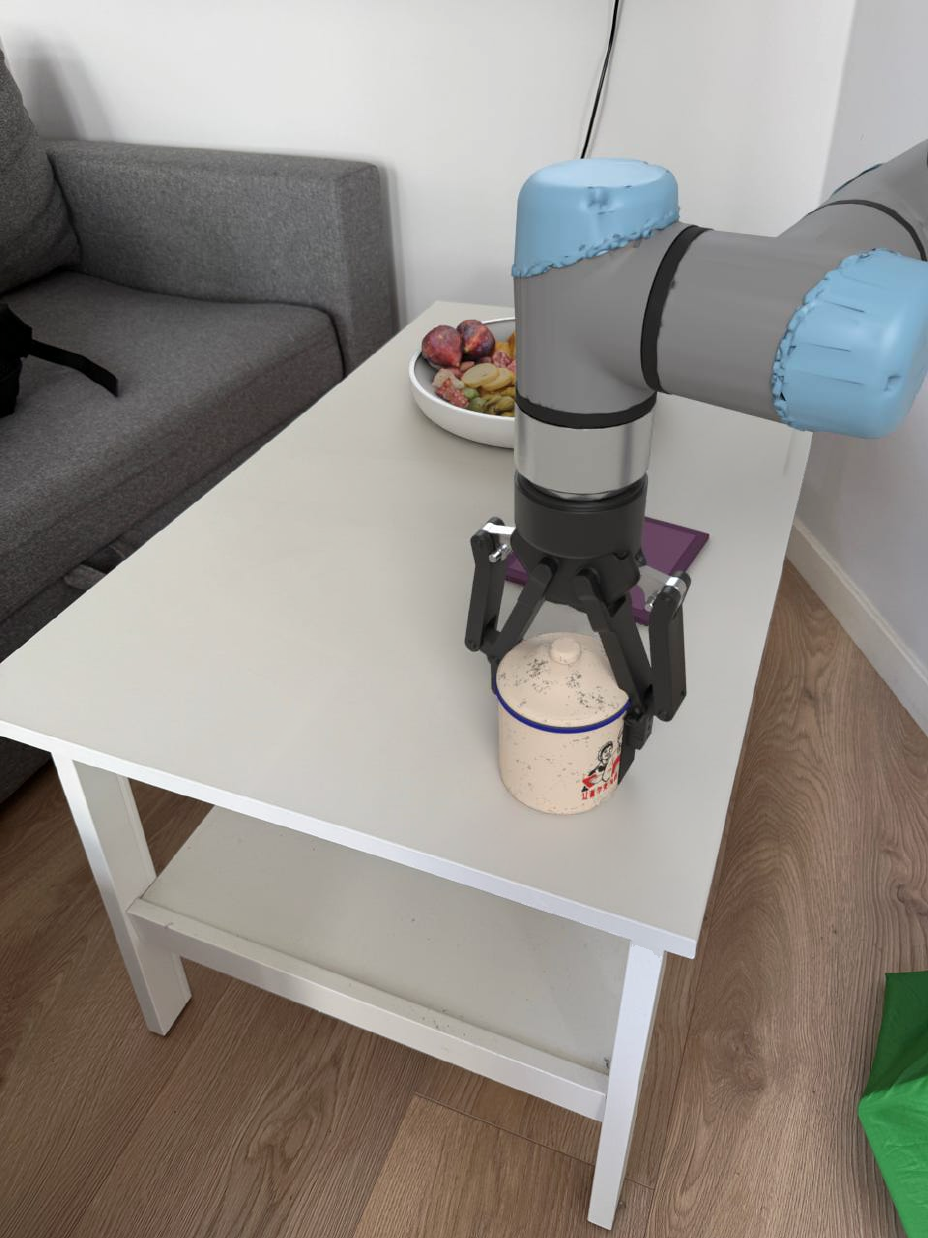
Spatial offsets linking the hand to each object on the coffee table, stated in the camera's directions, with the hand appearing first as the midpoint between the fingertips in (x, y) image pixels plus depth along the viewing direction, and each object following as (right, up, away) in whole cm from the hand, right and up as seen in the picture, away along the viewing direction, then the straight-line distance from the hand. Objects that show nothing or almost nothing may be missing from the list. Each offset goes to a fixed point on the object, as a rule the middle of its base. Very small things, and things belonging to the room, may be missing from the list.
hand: (566, 748), depth 66 cm
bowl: (+1, +36, +46) cm, 58 cm away
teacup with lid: (0, -1, +1) cm, 1 cm away
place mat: (+6, +15, +20) cm, 25 cm away
